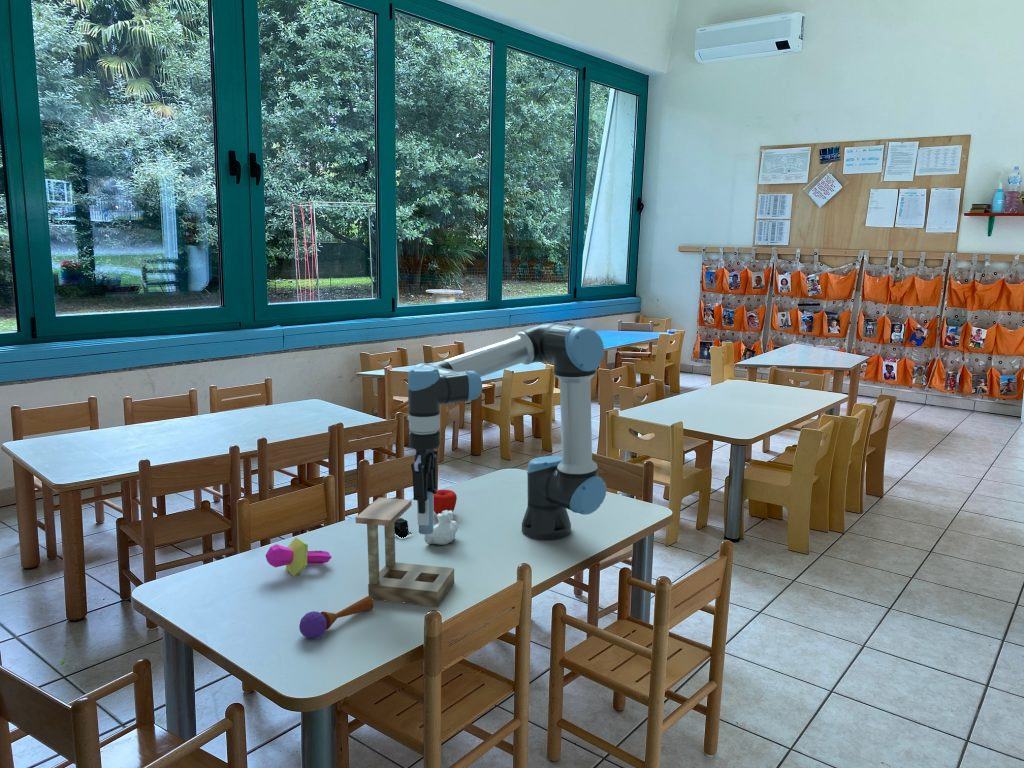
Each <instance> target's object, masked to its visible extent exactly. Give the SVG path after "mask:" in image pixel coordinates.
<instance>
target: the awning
mask: <svg viewBox="0 0 1024 768" xmlns="http://www.w3.org/2000/svg"><path fill="white" fill-rule="evenodd" d="M412 505H413V504H412V499H403V498H402V499H401V498H400V499H399V498H391V497H389V498H388V497H380V496H379V497H378V498H377V499H375V500H374V501H373V502H372V503H371V504H369V505H368V506H367V507H366V508H365V509H363V510H362V512H360V513H359V514H358V515H357V516H356V517H355V524H363V525H366V531H367V533H366V534H367V540H366V541H367V562H368V564H367V565H368V569H367V570H368V584H369V583H370V584H377V583H378V582H379V581H380V578H379V572H380V553H379V549H380V548H379V526H383V527H384V553H385V554H384V555H385V556H384V557H385V558H384V561H385V563H384V564H385V565H386V566H393V565H394V564H395V562H396V536H395V526H394V522H395V521H396V520H397V519H398V518H401V517H402V516H403V515H404V514H405V512H407V511H408V510H409V509H410V508H411V507H412Z"/></svg>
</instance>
